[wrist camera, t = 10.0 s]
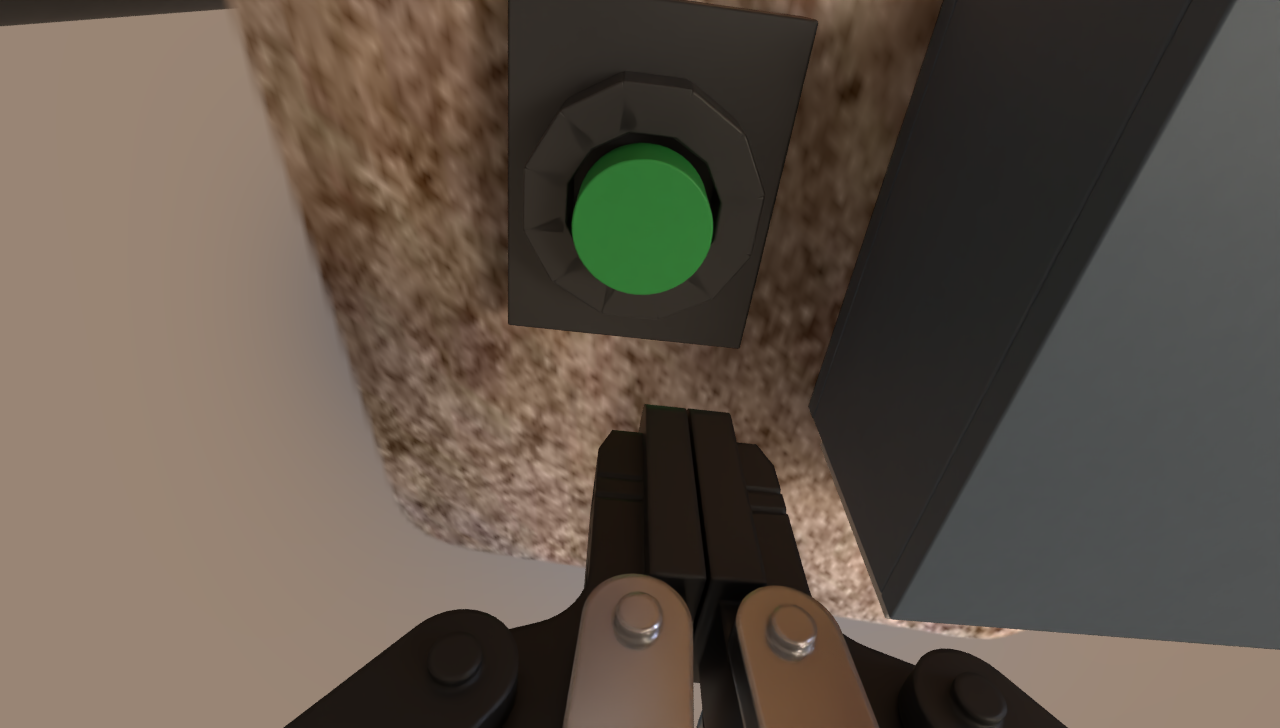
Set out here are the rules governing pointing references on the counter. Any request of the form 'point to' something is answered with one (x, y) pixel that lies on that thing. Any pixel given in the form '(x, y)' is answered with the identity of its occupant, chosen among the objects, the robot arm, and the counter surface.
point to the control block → (646, 113)
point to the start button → (642, 219)
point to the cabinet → (1073, 327)
